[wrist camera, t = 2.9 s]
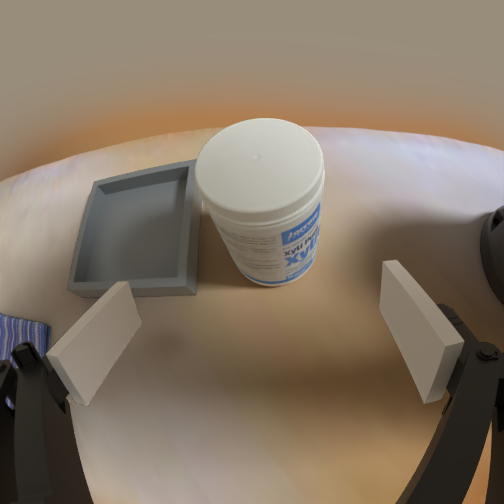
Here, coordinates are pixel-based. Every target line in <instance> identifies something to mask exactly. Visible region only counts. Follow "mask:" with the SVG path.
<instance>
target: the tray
mask: <svg viewBox="0 0 504 504" xmlns="http://www.w3.org/2000/svg"><path fill="white" fill-rule="evenodd" d="M196 160H197V159H195V160H189V161H184V162H178V163H173V164H168V165H163V166H158V167H153V168H148V169H144V170H139V171H135V172H131V173H126V174H122V175H118V176H114V177H110V178H106V179H102V180H99V181H95V182H94V184H93V187H92V190H91V193H90V196H89V199H88V202H87V206H86V209H85V213H84V216H83V220H82V223H81V227H80V231H79V235H78V239H77V243H76V248H75V252H74V257H73V261H72V266H71V271H70V277H69V282H68V288H67V290H68V291H70V292H72V293H74V294H76V295H78V296H80V297H82V298H97V297H102V296H103V295H104V294H105V293H106V292H107V291H108V290H109V289H110V288H111V287H112V286H113V285H114V284H115V283H116V282H123V281H128V282H129V286H130V289H131V292H132V295H133V297H154V296H183V295H196V286H197V265H198V248H199V232H200V219H201V206H202V198H201V196H200V193H199V189H198V186H197V183H196V180H195V164H196Z"/></svg>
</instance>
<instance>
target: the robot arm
mask: <svg viewBox="0 0 504 504" xmlns="http://www.w3.org/2000/svg"><path fill="white" fill-rule="evenodd" d="M480 246H481V257H482V262H483V266H484V270H485V273H486V276H487V278H488V281H489V283H490V285H491V287H492V289H493V291H494V292H495V294H496V295H497V297H498V298H499V299H500V301H501V302H502V303H503V304H504V206H501V207H500V208H498V209H497V210H496V211H495V212H494V213H493V214H492V215H491V216H490V217H489V218H488V219H487V221H486V222H485V224H484V226H483V229H482V233H481V242H480ZM379 311H380V313H381V315H382V316H383V318H384V320H385V322H386V324H387V326H388V328H389V330H390V332H391V334H392V336H393V338H394V340H395V342H396V344H397V346H398V348H399V350H400V352H401V354H402V356H403V358H404V360H405V362H406V365H407V367H408V369H409V371H410V373H411V375H412V378H413V380H414V382H415V384H416V386H417V389H418V391H419V393H420V396H421V398H422V400H423V403H424V404H427V403H431V402H434V401H437V400H441V399H442V397H443V395H444V393H445V391H446V388H447V390H448V392H449V394H450V398H449V400H448V402H447V404H446V406H445V408H444V410H443V412H442V414H443V415H442V417H441V420H440V422H439V424H438V427H437V429H436V431H435V434H434V436H433V438H432V440H431V442H430V444H429V446H428V448H427V450H426V452H425V454H424V456H423V458H422V460H421V462H420V464H419V466H418V467H417V469H416V471H415V473H414V475H413V476H412V478H411V480H410V481H409V483H408V485H407V486H406V488H405V490H404V491H403V493H402V494H401V496H400V497H399V499H398V501H397V502H396V504H462V502H463V500H464V498H465V496H466V493H467V491H468V489H469V486H470V484H471V482H472V479H473V476H474V474H475V471H476V468H477V466H478V463H479V460H480V457H481V454H482V451H483V448H484V444H485V441H486V437H487V434H488V430H489V426H490V422H491V418H492V444H491V461H490V472H489V481H488V488H487V495H486V501H485V504H504V353H501V352H500V351H499V349H498V348H497V347H496V346H494V345H493V344H490V343H488V342H479V341H478V340H477V338H476V337H475V336H474V335H473V333H472V332H471V331H470V330H469V328H468V327H467V326H466V325H465V324H463V321H462V320H461V319H460V318H458V315H457V314H456V313H455V312H454V311H453V309H451V308H450V307H448V306H446V305H444V304H439V305H436V304H435V303H434V302H433V301H432V299H431V298H430V297H429V296H428V295H427V293H426V292H425V291H424V290H423V289H422V288H421V286H420V285H419V284H418V283H417V282H416V281H415V280H414V278H413V277H412V276H411V275H410V274H409V273H408V272H407V271H406V269H405V268H404V267H403V266H402V265H401V264H400V263H399V262H398V261H397V260H390V261H383V265H382V281H381V293H380V304H379ZM141 325H142V322H141V319H140V316H139V313H138V310H137V307H136V304H135V301H134V298H133V295H132V292H131V289H130V286H129V282H128V281H123V282H116V283H115V284H114V285H113V286H112V287H111V288H110V289H109V290H108V291H107V292H106V293H105V294H104V295H103V296H102V297H101V298H100V299H99V300H98V301H97V302H96V303H95V304H94V305H93V306H92V307H91V308H90V309H89V310H88V311H87V312H86V313H85V314H84V315H83V316H82V317H81V318H80V319H79V320H78V321H77V322H76V323H75V324H74V325H73V326H72V327H71V328H70V329H69V330H67V331H66V333H65V334H64V335H63V336H62V337H61V338H60V339H59V340H58V341H57V343H55V344H54V345H53V346H52V347H51V348H50V350H49V351H48V352H47V353H46V354H45V355H44V356H43V357H42V358H41V357H40V355H39V353H38V351H37V350H36V348H35V346H34V344H33V343H32V342H31V341H26V342H22V343H20V344H18V345H17V346H16V347H14V349H13V350H12V351H11V353H10V354H11V356H12V358H13V359H14V361H15V363H16V365H17V366H18V368H14V367H13V365H12V363H11V361H10V360H8V359H5V360H0V504H94V503H93V500H92V498H91V495H90V492H89V488H88V485H87V482H86V479H85V475H84V472H83V468H82V464H81V460H80V456H79V452H78V448H77V444H76V439H75V434H74V429H73V424H72V418H71V412H70V405H69V402H68V400H67V399H66V397H67V395H68V394H70V395H71V397H72V398H73V400H74V401H75V403H79V404H82V405H86V406H88V404H89V403H90V401H91V400H92V398H93V397H94V395H95V393H96V392H97V390H98V389H99V387H100V386H101V384H102V383H103V381H104V380H105V378H106V376H107V375H108V373H109V372H110V370H111V369H112V367H113V366H114V364H115V363H116V361H117V360H118V358H119V357H120V355H121V354H122V352H123V351H124V349H125V348H126V347H127V345H128V344H129V342H130V341H131V339H132V338H133V336H134V335H135V333H136V332H137V331H138V329H139V328H140V326H141ZM6 397H7V398H8V399H9V400H10V402H11V403H12V404H13V408H12V409H11V408H10V407H9V406H8V404H7V403H6Z"/></svg>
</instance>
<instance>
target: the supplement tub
mask: <svg viewBox="0 0 504 504" xmlns="http://www.w3.org/2000/svg"><path fill="white" fill-rule="evenodd" d="M195 180H196V183H197V186H198V189H199V193H200V196H201V198H202V200H203V203H204V205H205V207H206V209H207V211H208V213H209V215H210V217H211V219H212V220H213V222H214V224H215V226H216V228H217V230H218V232H219V234H220V236H221V238H222V240H223V242H224V244H225V245H226V247H227V249H228V251H229V253H230V255H231V257H232V259H233V261H234V263H235V264H236V266H237V268H238V269H239V271H240V272H241V273H242V274H243V275H244V276H245V277H246V278H248V279H249V280H251V281H253V282H255V283H257V284H260V285H264V286H283V285H286V284H289V283H292V282H294V281H296V280H298V279H299V278H301V277H302V276H303V275H304V274H305V273H306V272H307V271H308V270H309V269H310V267H311V266H312V264H313V262H314V260H315V257H316V253H317V247H318V238H319V229H320V220H321V210H322V200H323V190H324V165H323V154H322V150H321V148H320V146H319V144H318V142H317V141H316V139H315V138H314V137H313V136H312V135H311V134H310V133H309V132H308V131H306V130H305V129H304V128H302V127H300V126H298V125H296V124H293V123H291V122H288V121H284V120H280V119H272V118H258V119H251V120H246V121H242V122H239V123H236V124H234V125H231V126H229V127H227V128H225V129H223V130H222V131H220V132H219V133H217V134H216V135H214V136H213V137H212V138H211V139H210V140H209V141H208V142H207V143H206V144H205V146H204V147H203V148H202V150H201V151H200V153H199V155H198V158H197V160H196V164H195Z"/></svg>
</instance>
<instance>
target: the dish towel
mask: <svg viewBox="0 0 504 504" xmlns="http://www.w3.org/2000/svg"><path fill="white" fill-rule="evenodd" d="M50 336H51V327H49V326H47V325H46V324H42V323H39V322H35V321H32V320H31V321H30V320H26V319H22V318H16V317H12V316H9V315H4V314H2V313H0V360H5V359H8V360H10V361H11V363H12V365H13V367H14V368H18V366H17V365H16V363H15V361H14V359H13V358H12V356H11V354H10V353H11V351H12V350H13V349H14V347H16V346H17V345H18V344H20V343H22V342H26V341H31V342H32V343H33V344H34V346H35V348H36V350H37V351H38V353H39V355H40V357H41V358H42V357H43V356H44V355H45V354H46V353H47V352H48V351H49V348H50ZM6 403H7V404H8V406H9V407H10V408H11V409H12V408H13V404H12V403H11V402H10V400H9V399H8V398H7V397H6Z"/></svg>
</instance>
